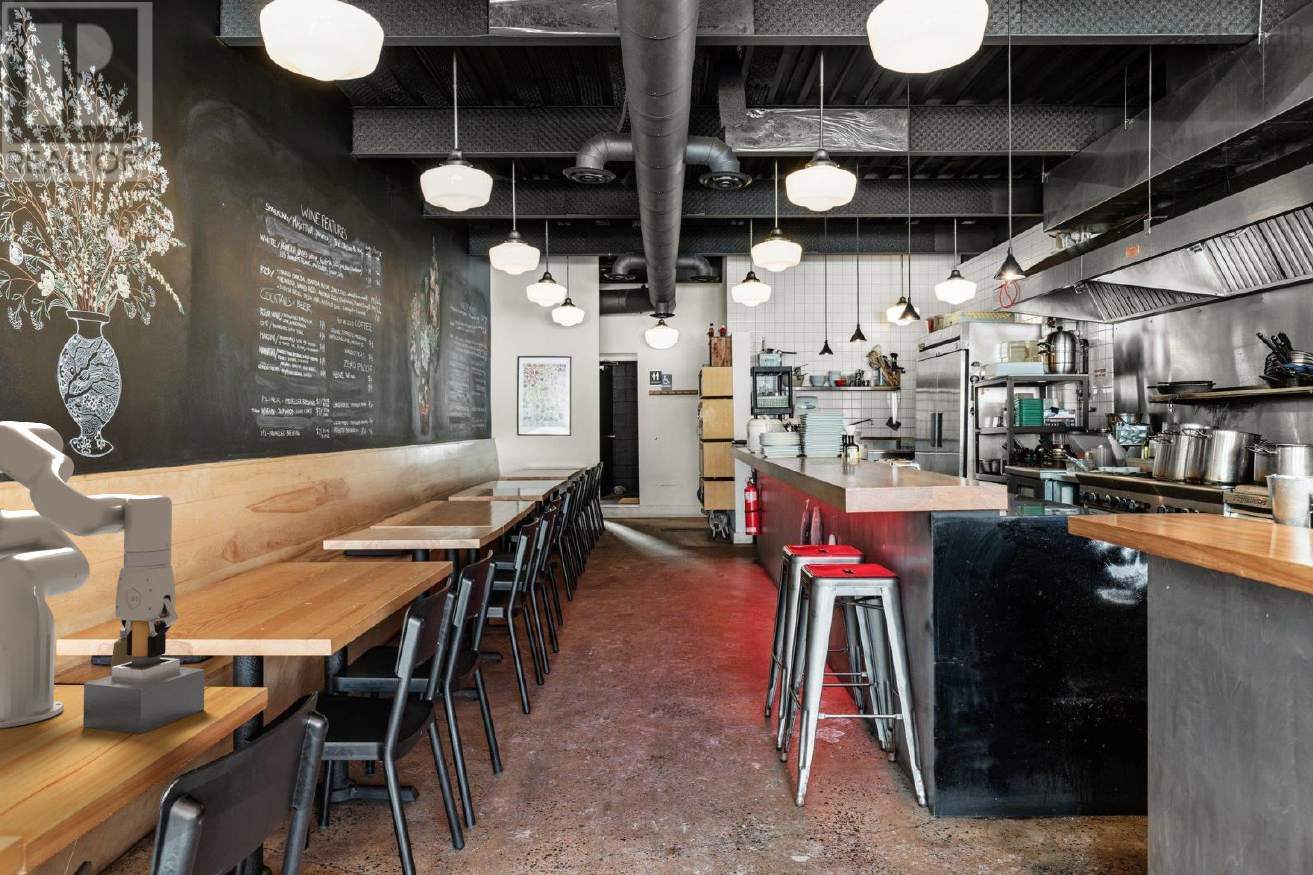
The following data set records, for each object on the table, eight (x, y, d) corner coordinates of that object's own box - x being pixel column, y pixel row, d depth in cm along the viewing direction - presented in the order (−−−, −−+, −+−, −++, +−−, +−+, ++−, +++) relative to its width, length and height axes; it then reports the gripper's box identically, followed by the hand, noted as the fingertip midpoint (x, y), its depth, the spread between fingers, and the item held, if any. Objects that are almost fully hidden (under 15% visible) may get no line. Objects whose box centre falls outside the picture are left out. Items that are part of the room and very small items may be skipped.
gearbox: (83, 726, 133) (84, 669, 134) (150, 704, 146) (151, 651, 146) (140, 734, 129) (141, 675, 130) (204, 710, 142) (204, 656, 142)
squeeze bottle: (130, 704, 146) (132, 615, 146) (98, 702, 147) (99, 614, 148) (165, 691, 154) (166, 607, 154) (134, 689, 155) (135, 606, 156)
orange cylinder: (125, 668, 136) (126, 621, 137) (148, 662, 141) (149, 616, 141) (143, 670, 135) (144, 622, 135) (165, 664, 139) (166, 617, 140)
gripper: (95, 560, 137) (93, 656, 137) (163, 563, 133) (161, 663, 132) (133, 555, 145) (132, 647, 144) (199, 558, 140) (197, 652, 139)
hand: (146, 653), depth 138 cm, fingers closed on orange cylinder, 4 cm apart
